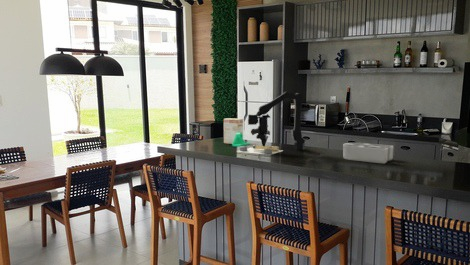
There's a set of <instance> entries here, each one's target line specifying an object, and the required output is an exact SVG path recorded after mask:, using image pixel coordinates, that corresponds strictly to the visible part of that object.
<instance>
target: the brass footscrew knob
mask: <svg viewBox="0 0 470 265" xmlns="http://www.w3.org/2000/svg"><path fill="white" fill-rule="evenodd" d="M252 148H254V149H272V151H279V150H280V147H279V146H278V145H277V146H276V145H274V146H273V145H271V146H270V145H265V146H262V145H258V144H257V145H256V144H253V145H252Z"/></svg>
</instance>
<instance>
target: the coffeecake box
mask: <svg viewBox="0 0 470 265" xmlns="http://www.w3.org/2000/svg"><path fill="white" fill-rule="evenodd" d="M236 133H242V134H243V135H244V119H243V118H233V117H232V118H230V117H228V118H223V143H224V144H228V145H232V143H233V141H234V138H235V136H236ZM242 138H243V139H244V136H243V137H242Z"/></svg>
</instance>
